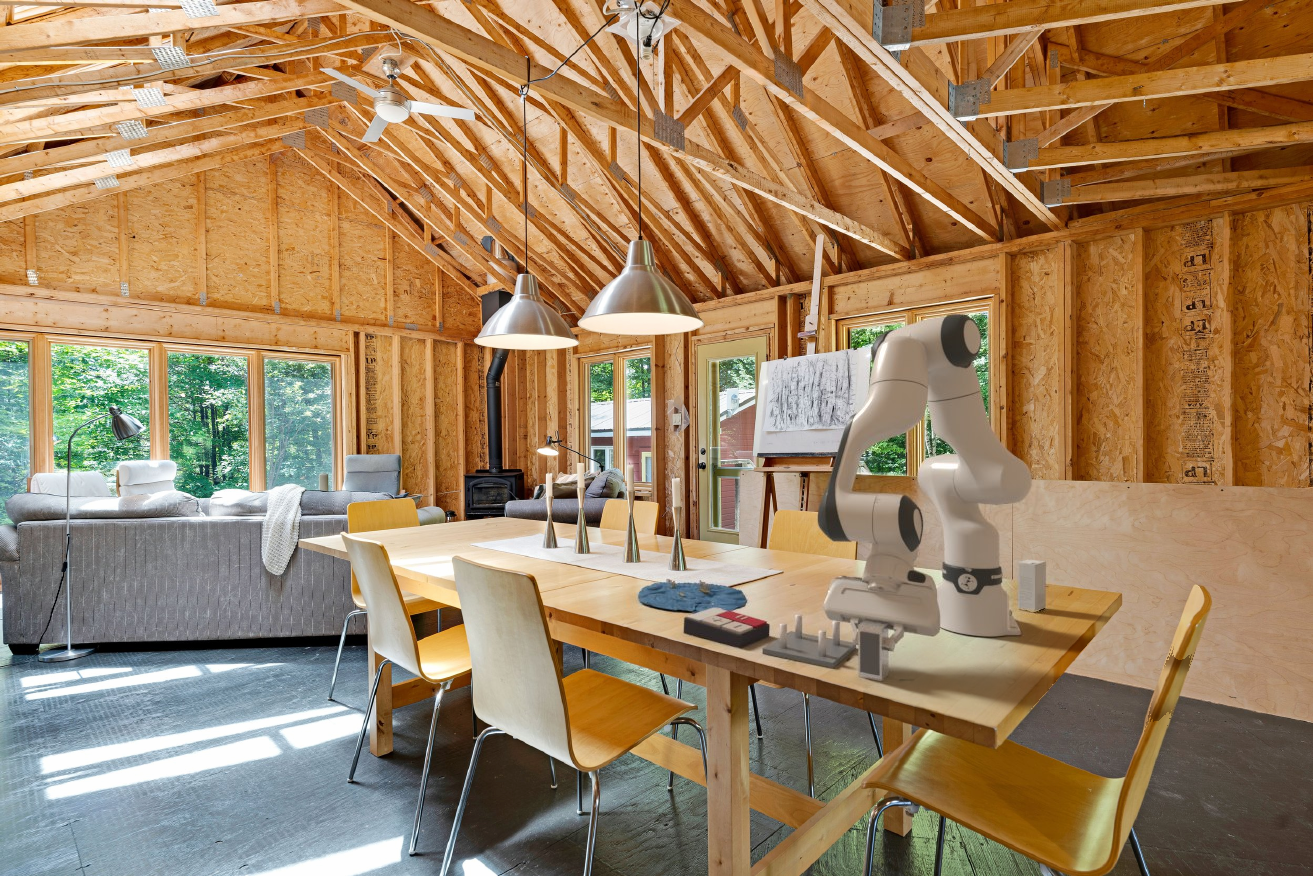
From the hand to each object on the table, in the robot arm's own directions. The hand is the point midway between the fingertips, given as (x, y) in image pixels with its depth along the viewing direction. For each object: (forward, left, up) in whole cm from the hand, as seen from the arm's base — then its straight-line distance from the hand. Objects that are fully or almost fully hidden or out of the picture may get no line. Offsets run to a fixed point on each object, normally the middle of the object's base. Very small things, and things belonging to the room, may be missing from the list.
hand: (872, 646), depth 108 cm
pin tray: (-7, -14, -5) cm, 16 cm away
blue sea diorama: (-30, -55, -6) cm, 63 cm away
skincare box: (-69, +20, -5) cm, 72 cm away
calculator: (-6, -33, -6) cm, 34 cm away
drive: (-1, 0, -5) cm, 5 cm away
